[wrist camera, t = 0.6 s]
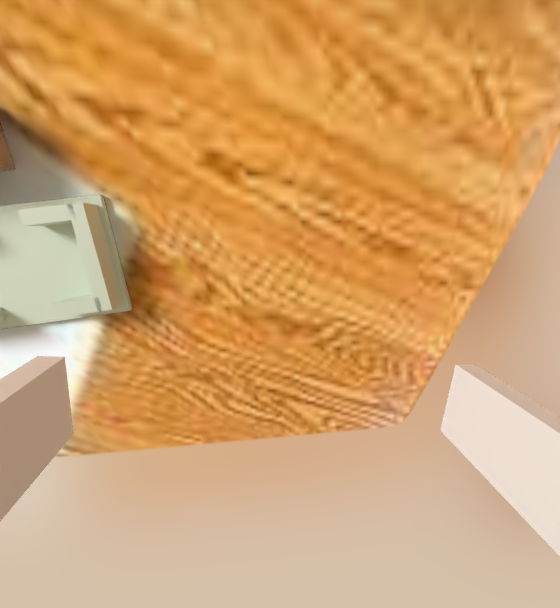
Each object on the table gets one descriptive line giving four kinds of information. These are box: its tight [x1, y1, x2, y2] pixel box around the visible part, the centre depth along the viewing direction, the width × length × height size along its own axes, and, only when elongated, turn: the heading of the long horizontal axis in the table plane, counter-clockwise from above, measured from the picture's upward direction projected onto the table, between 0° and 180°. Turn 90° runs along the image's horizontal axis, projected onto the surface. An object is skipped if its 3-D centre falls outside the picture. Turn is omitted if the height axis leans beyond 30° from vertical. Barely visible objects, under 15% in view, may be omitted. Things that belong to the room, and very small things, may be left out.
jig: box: [0, 195, 132, 329], centre depth 32 cm, size 13×20×4 cm, turn 97°
